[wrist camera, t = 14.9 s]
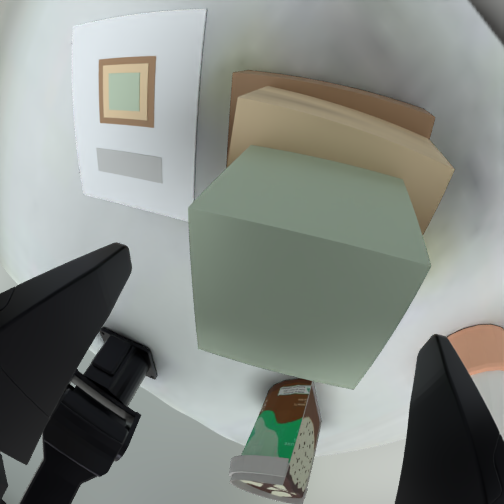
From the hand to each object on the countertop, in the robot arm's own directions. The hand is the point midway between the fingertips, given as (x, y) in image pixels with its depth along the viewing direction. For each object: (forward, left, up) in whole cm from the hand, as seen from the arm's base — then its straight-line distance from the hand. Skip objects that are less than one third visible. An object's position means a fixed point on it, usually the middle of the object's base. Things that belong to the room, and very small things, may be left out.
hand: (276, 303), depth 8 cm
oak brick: (+1, -1, -6) cm, 6 cm away
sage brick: (+1, 0, -3) cm, 3 cm away
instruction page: (+2, +11, -8) cm, 14 cm away
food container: (-22, -3, -9) cm, 24 cm away
